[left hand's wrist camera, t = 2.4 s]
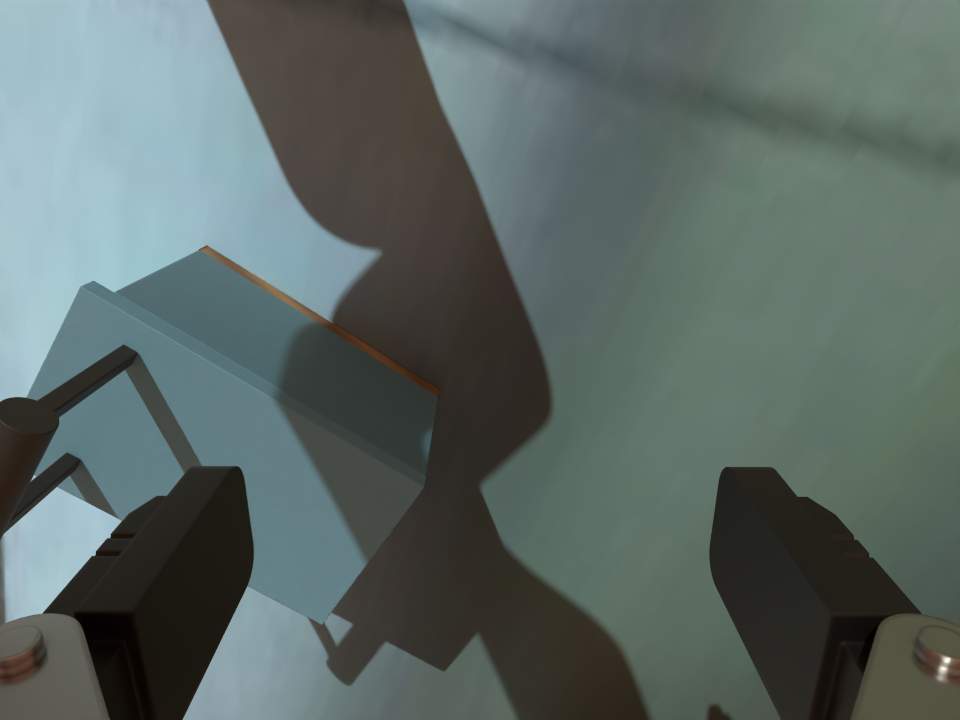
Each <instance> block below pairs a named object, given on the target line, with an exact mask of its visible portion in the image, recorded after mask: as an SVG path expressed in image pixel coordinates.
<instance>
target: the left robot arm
mask: <svg viewBox="0 0 960 720" xmlns="http://www.w3.org/2000/svg"><path fill="white" fill-rule="evenodd" d="M709 554H710V567H711V573H712V577H713V580H714V583H715V586H716V588H717V590H718V592H719V594H720V596H721V598H722V600H723V602H724V604H725V606H726V608H727V610H728V612H729V614H730V617H731V619H732V621H733V623H734V625H735V627H736V629H737V631H738V633H739V635H740V637H741V639H742V641H743V643H744V645H745V647H746V649H747V651H748V653H749V655H750V657H751V659H752V661H753V663H754V665H755V667H756V669H757V672H758V674H759V676H760V678H761V680H762V682H763V684H764V686H765V688H766V690H767V692H768V694H769V696H770V698H771V700H772V702H773V704H774V706H775V708H776V710H777V712H778V714H779V716H780V718H781V720H960V625H957V624H955V623H952V622H950V621H947V620H944V619H941V618H937V617H933V616H929V615H923V614H921V612H920V611H919V610H918V609H917V608H916V607H915V606H914V604H913V603H912V602H911V601H910V600H909V599H908V597H907V596H906V595H905V594H904V593H903V592H902V591H901V589H900V588H899V587H898V586H897V585H896V584H895V583H894V581H893V580H892V579H891V578H890V577H889V576H888V574H887V573H886V572H885V571H884V570H883V569H882V568H881V566H880V565H879V564H878V563H877V562H876V561H875V560H874V558H870V557H869V553H868V552H867V550H866V549H865V548H864V547H863V546H862V545H861V543H860V542H859V541H858V540H854V535H853V534H852V533H851V532H850V531H849V530H848V529H847V527H846V526H845V525H844V524H843V523H842V522H841V520H840V519H839V518H838V517H837V516H836V515H835V514H833V513H832V512H830V511H829V510H827V509H826V508H824V507H822V506H821V505H819V504H818V503H816V502H814V501H813V500H811V499H810V498H808V497H797V496H796V495H795V493H794V492H793V491H792V490H791V488H790V487H789V486H788V485H787V483H786V482H785V481H784V480H783V479H782V477H781V476H780V475H779V474H778V472H777V471H776V470H775V469H774V468H772V467H726V468H724V469H723V470H722V472H721V475H720V478H719V484H718V491H717V498H716V505H715V512H714V520H713V527H712V534H711V541H710V553H709ZM253 561H254V544H253V537H252V529H251V522H250V515H249V507H248V500H247V493H246V485H245V479H244V475H243V472H242V470H241V468H240V467H238V466H192V467H190V468H189V469H188V470H187V471H186V472H185V474H184V475H183V476H182V477H181V479H180V480H179V481H178V482H177V484H176V485H175V486H174V487H173V489H172V490H171V491H170V492H169V494H168V495H167V496H156V497H154V498H152V499H151V500H149V501H148V502H146V503H145V504H143V505H141V506H140V507H138V508H137V509H135V510H133V511H132V512H130V513H129V514H128V515H127V516H126V517H125V518H124V520H123V521H122V522H121V523H120V524H119V525H118V527H117V528H116V529H115V530H114V531H113V532H112V534H111V538H107V539H106V540H105V542H104V543H103V544H102V545H101V546H100V547H99V549H98V550H97V551H96V555H95V556H92V557H91V558H90V559H89V560H88V561H87V563H86V564H85V565H84V566H83V567H82V568H81V569H80V571H79V572H78V573H77V574H76V575H75V576H74V578H73V579H72V580H71V581H70V582H69V583H68V585H67V586H66V587H65V588H64V589H63V590H62V591H61V593H60V594H59V595H58V596H57V597H56V598H55V600H54V601H53V602H52V603H51V604H50V605H49V607H48V608H47V609H46V610H45V611H44V612H43V614H37V615H31V616H27V617H23V618H19V619H16V620H13V621H10V622H8V623H5V624H3V625H0V720H183V718H184V716H185V714H186V711H187V709H188V707H189V705H190V703H191V701H192V699H193V697H194V695H195V693H196V691H197V689H198V687H199V685H200V683H201V681H202V678H203V676H204V674H205V672H206V670H207V668H208V666H209V664H210V662H211V660H212V658H213V656H214V654H215V652H216V650H217V648H218V645H219V643H220V641H221V639H222V637H223V635H224V633H225V631H226V629H227V627H228V625H229V623H230V621H231V619H232V617H233V615H234V612H235V610H236V608H237V606H238V604H239V602H240V600H241V598H242V596H243V594H244V592H245V590H246V588H247V586H248V583H249V581H250V578H251V574H252V569H253Z"/></svg>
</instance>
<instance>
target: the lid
mask: <svg viewBox="0 0 960 720" xmlns="http://www.w3.org/2000/svg"><path fill="white" fill-rule="evenodd" d="M192 466H238V467H240V468H241V470H242V472H243V475H244V479H245V485H246V493H247V500H248V507H249V515H250V522H251V529H252V537H253V544H254V561H253V569H252V574H251V578H250V581H249V583H248V587H250V588H252V589H254V590H256V591H258V592H260V593H262V594H264V595H266V596H268V597H270V598H271V599H273V600H275V601H277V602H279V603H281V604H283V605H285V606H287V607H289V608H291V609H293V610H294V611H296V612H298V613H300V614H302V615H304V616H306V617H308V618H310V619H312V620H314V621H316V622H318V623H319V624H321V625H322V624H323V623H324V622H325V620H326V619H327V618H328V616H329V615H330V614H331V612H332V611H333V610H334V608H335V607H336V605H337V604H338V603H339V601H340V600H341V599H342V597H343V596H344V595H345V593H346V592H347V591H348V589H349V588H350V587H351V585H352V584H353V583H354V581H355V580H356V579H357V577H358V576H359V575H360V573H361V572H362V571H363V569H364V568H365V567H366V565H367V564H368V563H369V561H370V560H371V558H372V557H373V556H374V554H375V553H376V552H377V550H378V549H379V548H380V546H381V545H382V544H383V542H384V541H385V540H386V538H387V537H388V536H389V534H390V533H391V532H392V530H393V529H394V528H395V526H396V525H397V524H398V522H399V521H400V520H401V518H402V517H403V515H404V514H405V513H406V511H407V510H408V509H409V507H410V506H411V505H412V503H413V502H414V501H415V499H416V498H417V497H418V495H419V494H420V493H421V491H422V490H423V489H424V486H425V480H426V476H425V475H423V474H421V473H420V472H418V471H416V470H415V469H413V468H411V467H410V466H408V465H406V464H404V463H403V462H401V461H399V460H398V459H396V458H394V457H393V456H391V455H389V454H387V453H386V452H384V451H382V450H381V449H379V448H377V447H376V446H374V445H372V444H370V443H369V442H367V441H365V440H364V439H362V438H360V437H359V436H357V435H355V434H353V433H352V432H350V431H348V430H347V429H345V428H343V427H342V426H340V425H338V424H336V423H335V422H333V421H331V420H330V419H328V418H326V417H325V416H323V415H321V414H319V413H318V412H316V411H314V410H313V409H311V408H309V407H308V406H306V405H304V404H302V403H301V402H299V401H297V400H296V399H294V398H292V397H291V396H289V395H287V394H285V393H284V392H282V391H280V390H279V389H277V388H275V387H274V386H272V385H270V384H268V383H267V382H265V381H263V380H262V379H260V378H258V377H257V376H255V375H253V374H251V373H250V372H248V371H246V370H245V369H243V368H241V367H240V366H238V365H236V364H234V363H233V362H231V361H229V360H228V359H226V358H224V357H223V356H221V355H219V354H217V353H216V352H214V351H212V350H211V349H209V348H207V347H206V346H204V345H202V344H200V343H199V342H197V341H195V340H194V339H192V338H190V337H189V336H187V335H185V334H183V333H182V332H180V331H178V330H177V329H175V328H173V327H172V326H170V325H168V324H166V323H165V322H163V321H161V320H160V319H158V318H156V317H155V316H153V315H151V314H149V313H148V312H146V311H144V310H143V309H141V308H139V307H138V306H136V305H134V304H132V303H131V302H129V301H127V300H126V299H124V298H122V297H121V296H119V295H117V294H115V293H114V292H112V291H110V290H109V289H107V288H105V287H104V286H102V285H100V284H98V283H97V282H95V281H92V282H90V283H88V284H85V285H83V286H81V287H80V289H79V291H78V293H77V295H76V297H75V299H74V301H73V303H72V305H71V307H70V309H69V311H68V313H67V315H66V318H65V320H64V322H63V324H62V326H61V328H60V330H59V332H58V334H57V336H56V338H55V340H54V342H53V344H52V346H51V348H50V350H49V352H48V355H47V357H46V359H45V361H44V363H43V365H42V367H41V369H40V371H39V373H38V375H37V377H36V379H35V381H34V383H33V385H32V387H31V389H30V391H29V394H28V396H27V398H23V397H14V398H8V399H5V400H3V401H1V402H0V540H1V538H2V536H3V534H4V533H5V532H6V531H7V530H9V529H10V528H11V527H12V526H13V525H14V524H15V523H16V522H18V521H19V520H20V519H21V518H22V517H23V516H24V515H25V514H27V513H28V512H29V511H30V510H31V509H32V508H33V507H34V506H36V505H37V504H38V503H39V502H40V501H41V500H42V499H44V498H45V497H46V496H47V495H48V494H49V493H50V492H51V491H53V490H54V489H55V488H56V487H58V488H60V489H62V490H64V491H66V492H68V493H70V494H72V495H74V496H76V497H78V498H80V499H82V500H83V501H85V502H87V503H89V504H91V505H93V506H95V507H97V508H99V509H101V510H103V511H105V512H106V513H108V514H110V515H112V516H114V517H116V518H118V519H120V520H122V521H123V520H124V518H125V517H126V516H127V515H128V514H129V513H130V512H132V511H133V510H135V509H137V508H138V507H140V506H141V505H143V504H145V503H146V502H148V501H149V500H151V499H152V498H154V497H156V496H167V495H168V494H169V492H170V491H171V490H172V489H173V487H174V486H175V485H176V484H177V482H178V481H179V480H180V479H181V477H182V476H183V475H184V474H185V472H186V471H187V470H188V469H189V468H190V467H192ZM33 475H35V476H37V477H36V478H35V479H33V480H32V481H31V479H32V477H33ZM30 481H31V482H30Z"/></svg>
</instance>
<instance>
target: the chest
mask: <svg viewBox="0 0 960 720" xmlns="http://www.w3.org/2000/svg"><path fill="white" fill-rule="evenodd" d="M114 293H115V294H117V295H119V296H121V297H122V298H124V299H126V300H127V301H129V302H131V303H132V304H134V305H136V306H138V307H139V308H141V309H143V310H144V311H146V312H148V313H149V314H151V315H153V316H155V317H156V318H158V319H160V320H161V321H163V322H165V323H166V324H168V325H170V326H172V327H173V328H175V329H177V330H178V331H180V332H182V333H183V334H185V335H187V336H189V337H190V338H192V339H194V340H195V341H197V342H199V343H200V344H202V345H204V346H206V347H207V348H209V349H211V350H212V351H214V352H216V353H217V354H219V355H221V356H223V357H224V358H226V359H228V360H229V361H231V362H233V363H234V364H236V365H238V366H240V367H241V368H243V369H245V370H246V371H248V372H250V373H251V374H253V375H255V376H257V377H258V378H260V379H262V380H263V381H265V382H267V383H268V384H270V385H272V386H274V387H275V388H277V389H279V390H280V391H282V392H284V393H285V394H287V395H289V396H291V397H292V398H294V399H296V400H297V401H299V402H301V403H302V404H304V405H306V406H308V407H309V408H311V409H313V410H314V411H316V412H318V413H319V414H321V415H323V416H325V417H326V418H328V419H330V420H331V421H333V422H335V423H336V424H338V425H340V426H342V427H343V428H345V429H347V430H348V431H350V432H352V433H353V434H355V435H357V436H359V437H360V438H362V439H364V440H365V441H367V442H369V443H370V444H372V445H374V446H376V447H377V448H379V449H381V450H382V451H384V452H386V453H387V454H389V455H391V456H393V457H394V458H396V459H398V460H399V461H401V462H403V463H404V464H406V465H408V466H410V467H411V468H413V469H415V470H416V471H418V472H420V473H421V474H423V475H425V476H426V471H427V465H428V459H429V452H430V446H431V439H432V433H433V427H434V420H435V414H436V407H437V401H438V398H439V393H440V390H439V389H438V388H436V387H434V386H433V385H431V384H430V383H428V382H426V381H425V380H423V379H421V378H420V377H418V376H417V375H415V374H413V373H412V372H410V371H409V370H407V369H405V368H404V367H402V366H400V365H399V364H397V363H396V362H394V361H392V360H391V359H389V358H388V357H386V356H384V355H383V354H381V353H380V352H378V351H376V350H375V349H373V348H371V347H370V346H368V345H367V344H365V343H363V342H362V341H360V340H359V339H357V338H355V337H354V336H352V335H350V334H349V333H347V332H346V331H344V330H342V329H341V328H339V327H338V326H336V325H334V324H333V323H331V322H329V321H328V320H326V319H325V318H323V317H321V316H320V315H318V314H317V313H315V312H313V311H312V310H310V309H308V308H307V307H305V306H304V305H302V304H300V303H299V302H297V301H296V300H294V299H292V298H291V297H289V296H287V295H286V294H284V293H283V292H281V291H279V290H278V289H276V288H275V287H273V286H271V285H270V284H268V283H267V282H265V281H263V280H262V279H260V278H258V277H257V276H255V275H254V274H252V273H250V272H249V271H247V270H246V269H244V268H242V267H241V266H239V265H237V264H236V263H234V262H233V261H231V260H229V259H228V258H226V257H225V256H223V255H221V254H220V253H218V252H216V251H215V250H213V249H212V248H210V247H208V246H205V247H203V248H201V249H199V250H198V251H196V252H194V253H192V254H190V255H188V256H186V257H184V258H182V259H180V260H178V261H176V262H174V263H172V264H170V265H168V266H166V267H164V268H162V269H160V270H158V271H156V272H154V273H152V274H150V275H148V276H146V277H144V278H142V279H140V280H138V281H136V282H134V283H132V284H130V285H128V286H126V287H124V288H122V289H120V290H118V291H116V292H114Z"/></svg>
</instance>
